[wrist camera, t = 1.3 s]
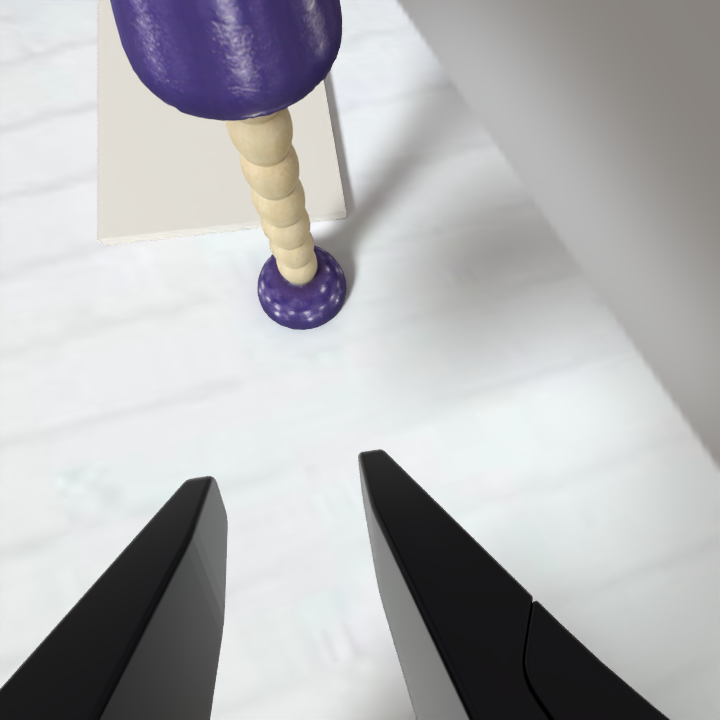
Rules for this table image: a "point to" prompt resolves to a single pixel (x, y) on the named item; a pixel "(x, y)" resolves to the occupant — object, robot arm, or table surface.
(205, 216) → the felt mat
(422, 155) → the table surface
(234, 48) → the toy lamp
